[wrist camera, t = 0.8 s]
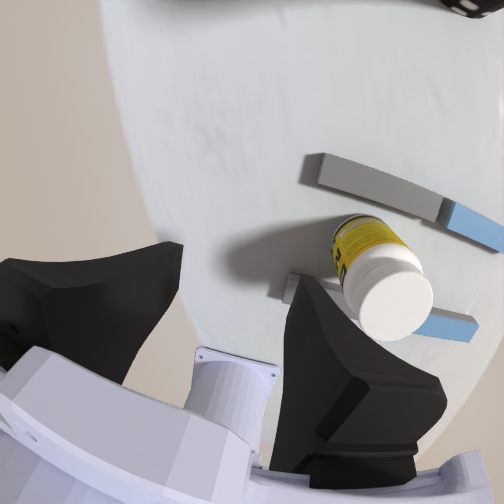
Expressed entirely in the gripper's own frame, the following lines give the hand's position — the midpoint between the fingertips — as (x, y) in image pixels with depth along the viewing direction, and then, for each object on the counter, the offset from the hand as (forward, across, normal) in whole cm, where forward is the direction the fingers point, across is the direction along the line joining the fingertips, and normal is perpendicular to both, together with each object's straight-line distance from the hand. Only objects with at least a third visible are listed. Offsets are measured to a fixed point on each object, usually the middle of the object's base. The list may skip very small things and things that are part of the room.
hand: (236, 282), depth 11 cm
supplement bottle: (+10, -8, 0) cm, 12 cm away
